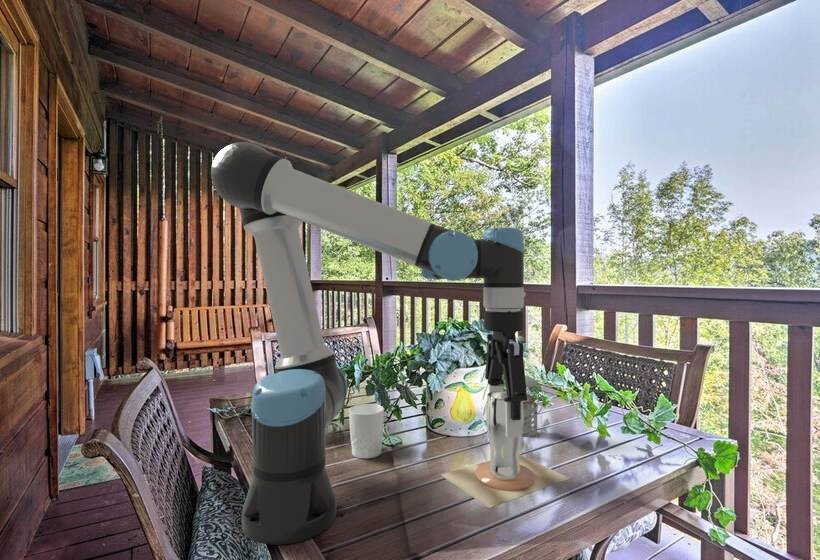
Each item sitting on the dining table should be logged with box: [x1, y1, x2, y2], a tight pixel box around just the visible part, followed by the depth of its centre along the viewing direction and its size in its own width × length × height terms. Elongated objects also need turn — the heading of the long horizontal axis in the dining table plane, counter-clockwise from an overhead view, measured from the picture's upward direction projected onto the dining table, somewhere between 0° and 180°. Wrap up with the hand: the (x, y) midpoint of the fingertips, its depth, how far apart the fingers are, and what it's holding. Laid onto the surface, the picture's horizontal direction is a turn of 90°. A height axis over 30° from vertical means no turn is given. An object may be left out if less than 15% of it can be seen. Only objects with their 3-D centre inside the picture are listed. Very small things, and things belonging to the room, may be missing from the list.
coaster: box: [476, 462, 534, 491], centre depth 83 cm, size 11×11×1 cm
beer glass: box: [485, 390, 524, 481], centre depth 83 cm, size 7×7×15 cm
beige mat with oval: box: [440, 453, 571, 509], centre depth 83 cm, size 20×14×2 cm
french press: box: [503, 335, 545, 438], centre depth 108 cm, size 10×12×25 cm
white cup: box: [348, 403, 385, 459], centre depth 98 cm, size 8×8×10 cm
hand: (504, 426), depth 83 cm, fingers open, 9 cm apart
